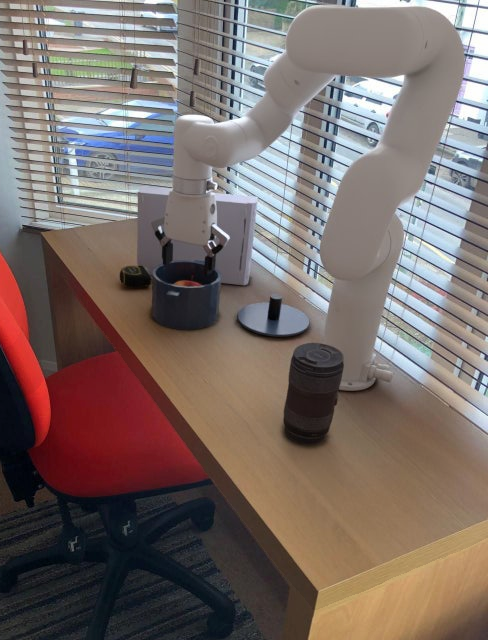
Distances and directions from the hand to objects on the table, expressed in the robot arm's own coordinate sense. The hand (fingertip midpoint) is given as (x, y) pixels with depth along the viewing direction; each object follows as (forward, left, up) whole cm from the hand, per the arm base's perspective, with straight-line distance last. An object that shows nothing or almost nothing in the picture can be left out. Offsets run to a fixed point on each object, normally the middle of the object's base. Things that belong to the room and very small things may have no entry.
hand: (187, 267), depth 136 cm
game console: (+8, -20, -11) cm, 24 cm away
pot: (0, 0, -11) cm, 11 cm away
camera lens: (-37, +28, -11) cm, 48 cm away
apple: (0, 0, -10) cm, 10 cm away
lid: (-18, -7, -10) cm, 22 cm away
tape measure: (+17, -8, -11) cm, 22 cm away
